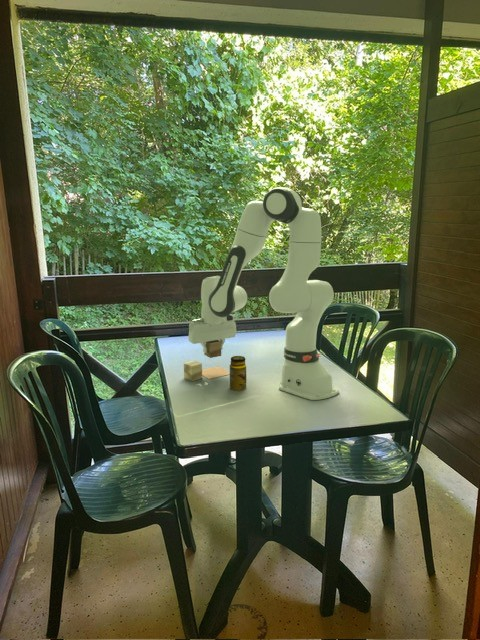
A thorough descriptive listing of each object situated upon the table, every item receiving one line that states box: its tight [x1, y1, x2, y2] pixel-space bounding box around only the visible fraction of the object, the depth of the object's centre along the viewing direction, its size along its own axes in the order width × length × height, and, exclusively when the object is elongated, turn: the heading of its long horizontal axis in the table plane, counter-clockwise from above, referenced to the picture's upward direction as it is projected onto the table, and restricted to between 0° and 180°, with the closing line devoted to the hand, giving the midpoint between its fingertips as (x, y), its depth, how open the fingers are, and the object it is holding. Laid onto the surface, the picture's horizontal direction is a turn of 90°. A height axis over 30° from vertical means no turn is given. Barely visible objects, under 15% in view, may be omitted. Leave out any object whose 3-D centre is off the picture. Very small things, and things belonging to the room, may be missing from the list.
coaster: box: [202, 365, 230, 380], centre depth 175 cm, size 11×11×1 cm
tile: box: [195, 382, 209, 387], centre depth 162 cm, size 7×7×1 cm
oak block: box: [183, 360, 203, 382], centre depth 168 cm, size 5×5×6 cm
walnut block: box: [203, 340, 222, 359], centre depth 173 cm, size 5×5×6 cm
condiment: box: [229, 355, 247, 392], centre depth 157 cm, size 7×8×12 cm
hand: (213, 350), depth 173 cm, fingers closed on walnut block, 5 cm apart
